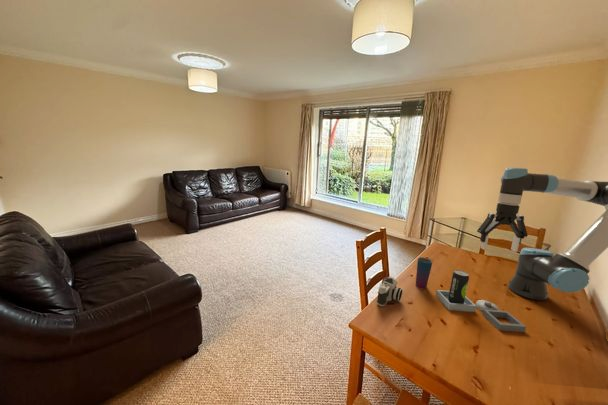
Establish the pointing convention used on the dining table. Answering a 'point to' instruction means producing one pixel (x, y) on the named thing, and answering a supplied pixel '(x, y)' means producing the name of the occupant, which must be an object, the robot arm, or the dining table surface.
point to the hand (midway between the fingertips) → (498, 250)
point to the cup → (423, 272)
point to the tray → (467, 305)
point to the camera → (388, 291)
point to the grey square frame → (493, 311)
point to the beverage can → (458, 287)
